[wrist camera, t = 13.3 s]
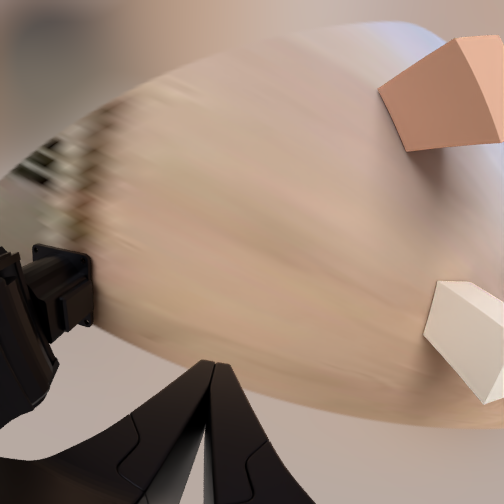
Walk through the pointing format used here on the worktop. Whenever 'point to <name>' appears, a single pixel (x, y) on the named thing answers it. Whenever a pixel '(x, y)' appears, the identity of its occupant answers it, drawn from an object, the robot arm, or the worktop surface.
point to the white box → (469, 335)
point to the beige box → (450, 96)
